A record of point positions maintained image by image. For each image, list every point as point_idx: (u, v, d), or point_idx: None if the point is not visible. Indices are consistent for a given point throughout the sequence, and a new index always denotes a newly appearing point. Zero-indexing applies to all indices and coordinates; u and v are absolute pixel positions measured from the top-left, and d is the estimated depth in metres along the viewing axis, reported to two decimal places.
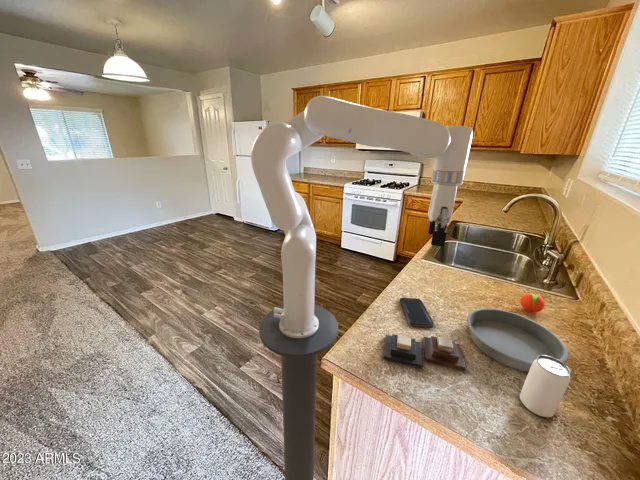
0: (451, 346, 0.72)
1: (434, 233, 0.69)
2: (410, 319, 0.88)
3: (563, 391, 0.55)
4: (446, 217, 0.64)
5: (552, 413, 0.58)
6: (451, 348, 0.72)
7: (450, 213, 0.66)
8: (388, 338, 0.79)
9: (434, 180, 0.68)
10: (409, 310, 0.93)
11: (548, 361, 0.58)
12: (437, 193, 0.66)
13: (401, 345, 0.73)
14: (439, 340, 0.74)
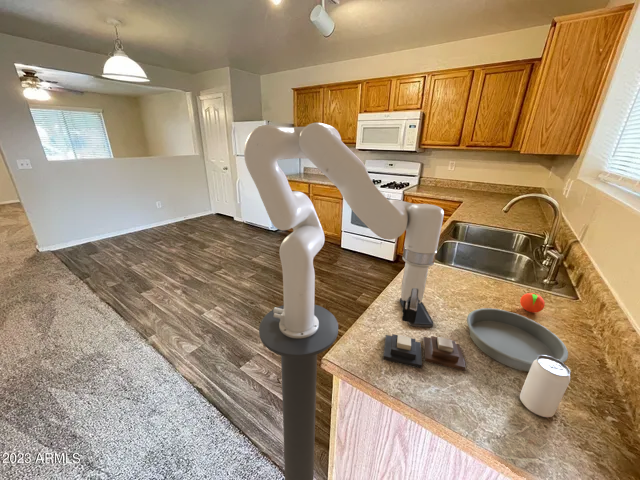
0: (451, 346, 0.72)
1: (405, 310, 0.69)
2: None
3: (563, 391, 0.55)
4: (414, 306, 0.63)
5: (552, 413, 0.58)
6: (451, 348, 0.72)
7: (421, 294, 0.63)
8: (388, 338, 0.79)
9: (405, 258, 0.64)
10: None
11: (548, 361, 0.58)
12: (407, 274, 0.63)
13: (401, 345, 0.73)
14: (439, 340, 0.74)
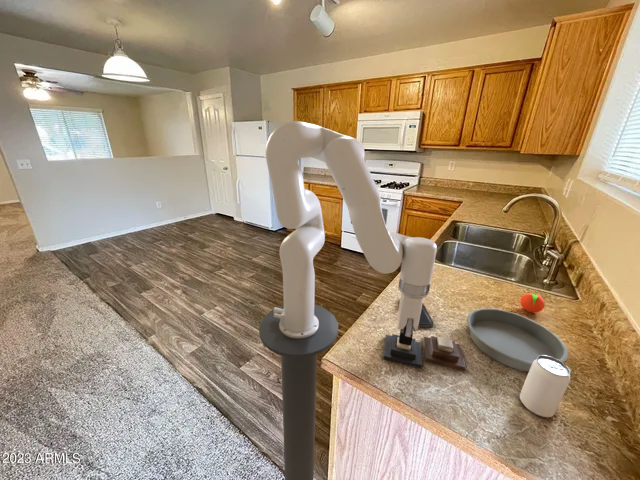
0: (451, 346, 0.72)
1: (401, 333, 0.73)
2: None
3: (563, 391, 0.55)
4: (409, 334, 0.67)
5: (552, 413, 0.58)
6: (451, 348, 0.72)
7: (417, 324, 0.66)
8: (388, 338, 0.79)
9: (400, 289, 0.67)
10: None
11: (548, 361, 0.58)
12: (403, 304, 0.66)
13: (401, 347, 0.73)
14: (439, 340, 0.74)
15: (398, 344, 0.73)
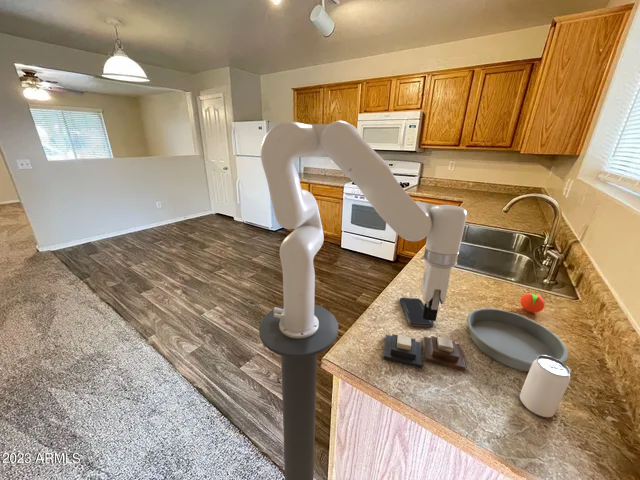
0: (451, 346, 0.72)
1: (426, 308, 0.70)
2: (410, 319, 0.88)
3: (563, 391, 0.55)
4: (436, 307, 0.64)
5: (552, 413, 0.58)
6: (451, 348, 0.72)
7: (444, 295, 0.63)
8: (388, 338, 0.79)
9: (427, 259, 0.64)
10: (409, 310, 0.93)
11: (548, 361, 0.58)
12: (430, 275, 0.63)
13: (401, 345, 0.73)
14: (439, 340, 0.74)
15: (398, 342, 0.73)
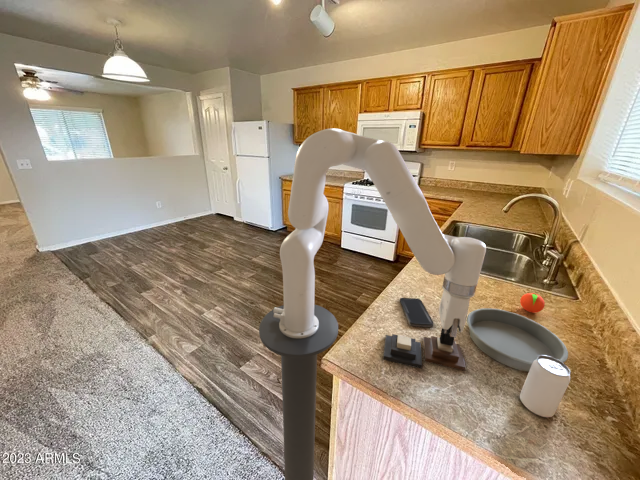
0: (451, 347, 0.72)
1: (443, 333, 0.72)
2: (410, 319, 0.88)
3: (563, 391, 0.55)
4: (455, 335, 0.67)
5: (552, 413, 0.58)
6: (451, 349, 0.72)
7: (463, 324, 0.65)
8: (388, 338, 0.79)
9: (446, 289, 0.67)
10: (409, 310, 0.93)
11: (548, 361, 0.58)
12: (449, 304, 0.65)
13: (401, 345, 0.73)
14: (439, 341, 0.74)
15: (398, 342, 0.73)
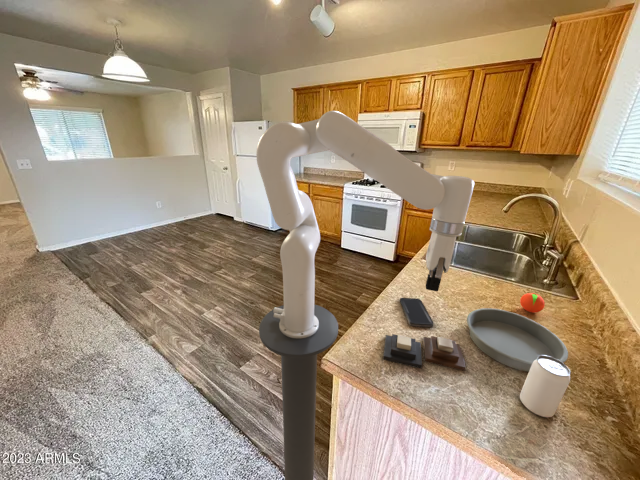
0: (451, 346, 0.72)
1: (429, 278, 0.72)
2: (410, 319, 0.88)
3: (563, 391, 0.55)
4: (440, 275, 0.66)
5: (552, 413, 0.58)
6: (451, 348, 0.72)
7: (448, 264, 0.65)
8: (388, 338, 0.79)
9: (433, 229, 0.66)
10: (409, 310, 0.93)
11: (548, 361, 0.58)
12: (435, 243, 0.65)
13: (401, 345, 0.73)
14: (439, 340, 0.74)
15: (398, 342, 0.73)
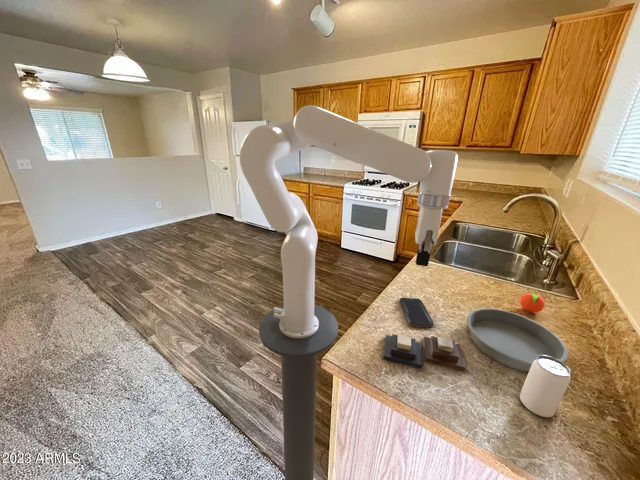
0: (451, 346, 0.72)
1: (418, 254, 0.73)
2: (410, 319, 0.88)
3: (563, 391, 0.55)
4: (428, 248, 0.67)
5: (552, 413, 0.58)
6: (451, 348, 0.72)
7: (436, 236, 0.66)
8: (388, 338, 0.79)
9: (420, 203, 0.68)
10: (409, 310, 0.93)
11: (548, 361, 0.58)
12: (422, 216, 0.66)
13: (401, 345, 0.73)
14: (439, 340, 0.74)
15: (398, 342, 0.73)
